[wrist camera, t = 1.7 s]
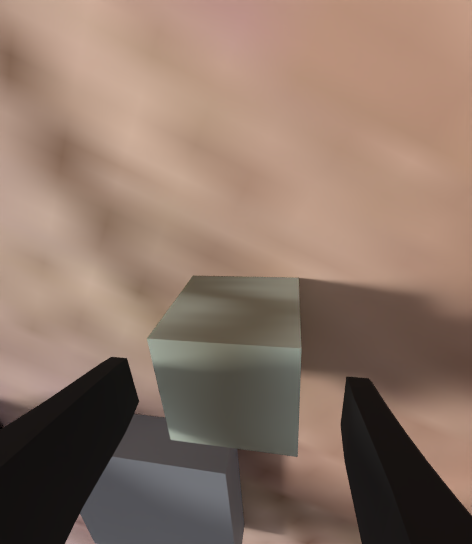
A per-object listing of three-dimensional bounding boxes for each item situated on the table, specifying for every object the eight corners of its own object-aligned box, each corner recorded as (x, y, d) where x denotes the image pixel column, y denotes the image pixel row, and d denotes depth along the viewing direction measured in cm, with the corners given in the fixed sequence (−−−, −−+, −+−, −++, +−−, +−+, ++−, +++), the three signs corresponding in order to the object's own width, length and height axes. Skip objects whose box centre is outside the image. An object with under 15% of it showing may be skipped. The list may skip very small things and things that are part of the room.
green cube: (204, 356, 14) (170, 439, 10) (193, 275, 13) (146, 338, 9) (296, 362, 14) (297, 456, 10) (298, 276, 12) (301, 348, 8)
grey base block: (118, 494, 22) (94, 543, 20) (82, 401, 18) (46, 446, 16) (245, 517, 20) (238, 574, 18) (236, 419, 16) (225, 473, 14)
